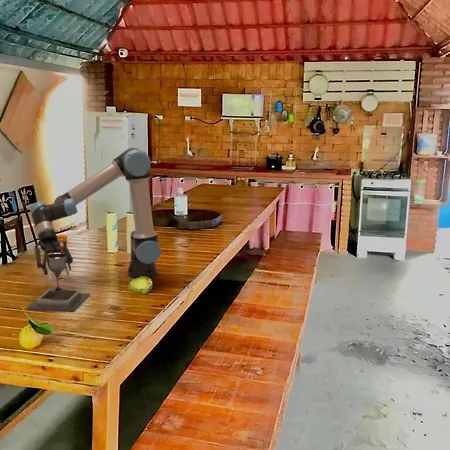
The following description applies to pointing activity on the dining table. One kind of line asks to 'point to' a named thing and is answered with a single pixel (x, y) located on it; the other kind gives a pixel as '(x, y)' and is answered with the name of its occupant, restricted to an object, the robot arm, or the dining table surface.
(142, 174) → the robot arm
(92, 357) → the dining table surface
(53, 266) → the wine glass
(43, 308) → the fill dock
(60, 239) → the french fries
